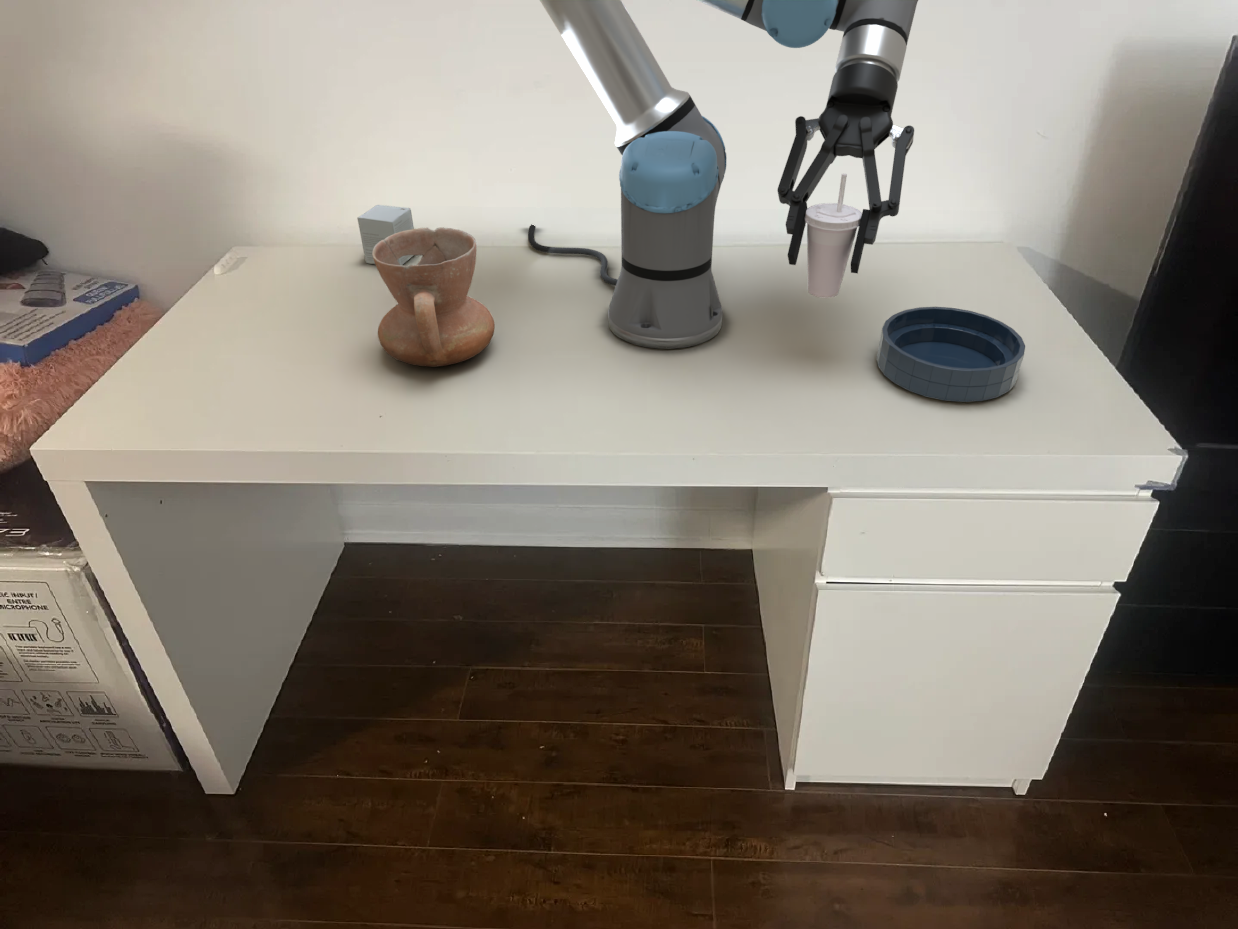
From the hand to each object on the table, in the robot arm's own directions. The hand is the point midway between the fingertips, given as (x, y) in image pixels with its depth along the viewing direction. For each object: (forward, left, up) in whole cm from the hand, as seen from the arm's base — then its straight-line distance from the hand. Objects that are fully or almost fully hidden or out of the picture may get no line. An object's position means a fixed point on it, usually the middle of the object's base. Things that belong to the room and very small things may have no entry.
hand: (822, 263), depth 99 cm
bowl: (+6, +15, -14) cm, 21 cm away
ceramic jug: (-21, -42, -14) cm, 49 cm away
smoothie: (-3, +2, -5) cm, 6 cm away
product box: (-54, -43, -14) cm, 70 cm away
